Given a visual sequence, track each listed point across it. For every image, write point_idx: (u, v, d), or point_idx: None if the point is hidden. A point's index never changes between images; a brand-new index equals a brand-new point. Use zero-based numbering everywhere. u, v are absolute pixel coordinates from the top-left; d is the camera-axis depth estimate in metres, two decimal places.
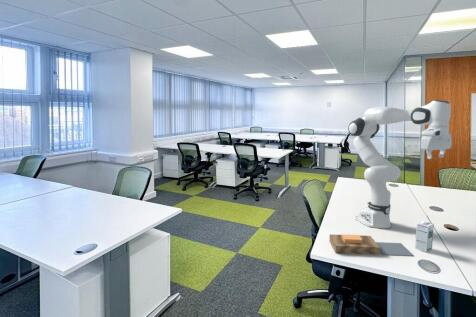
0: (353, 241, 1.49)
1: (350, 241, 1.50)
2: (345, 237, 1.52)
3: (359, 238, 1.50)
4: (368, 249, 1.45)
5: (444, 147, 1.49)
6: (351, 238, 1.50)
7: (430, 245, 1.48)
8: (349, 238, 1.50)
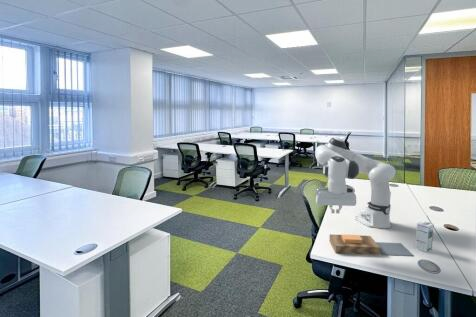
0: (353, 241, 1.49)
1: (350, 241, 1.50)
2: (345, 237, 1.52)
3: (359, 238, 1.50)
4: (368, 249, 1.45)
5: None
6: (351, 238, 1.50)
7: (430, 245, 1.48)
8: (349, 238, 1.50)
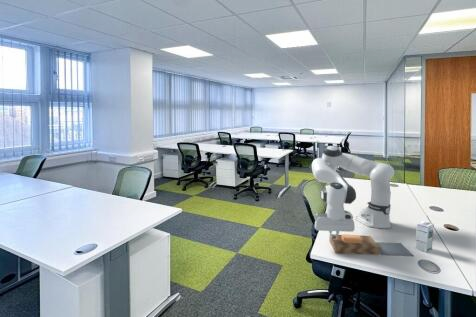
0: (353, 241, 1.49)
1: (350, 241, 1.50)
2: (345, 237, 1.52)
3: (359, 238, 1.50)
4: (368, 249, 1.45)
5: None
6: (351, 238, 1.50)
7: (430, 245, 1.48)
8: (349, 238, 1.50)
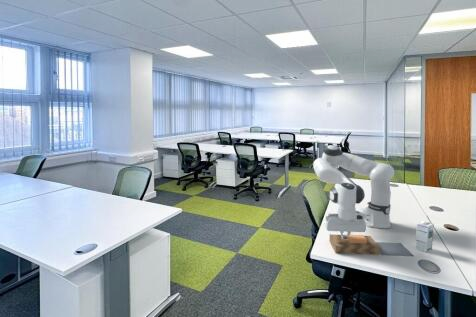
0: (358, 241, 1.49)
1: (355, 241, 1.49)
2: (349, 237, 1.51)
3: (364, 238, 1.50)
4: (368, 249, 1.45)
5: None
6: (356, 238, 1.50)
7: (430, 245, 1.48)
8: (354, 238, 1.50)
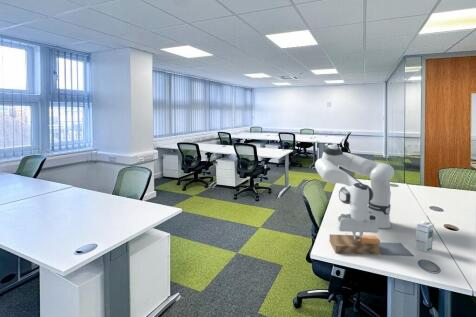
0: (370, 242, 1.49)
1: (367, 242, 1.49)
2: (362, 238, 1.51)
3: (376, 239, 1.49)
4: (368, 249, 1.45)
5: None
6: (368, 239, 1.50)
7: (430, 245, 1.48)
8: (366, 239, 1.50)
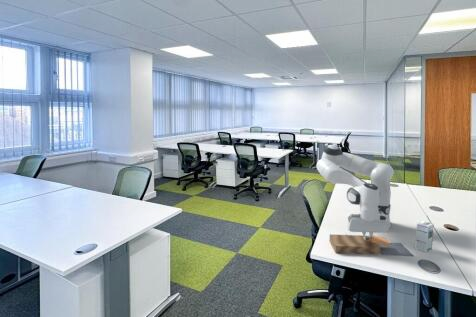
0: (380, 243, 1.48)
1: (378, 242, 1.48)
2: (373, 237, 1.50)
3: (387, 241, 1.49)
4: (368, 249, 1.45)
5: None
6: (379, 240, 1.49)
7: (430, 245, 1.48)
8: (377, 239, 1.49)
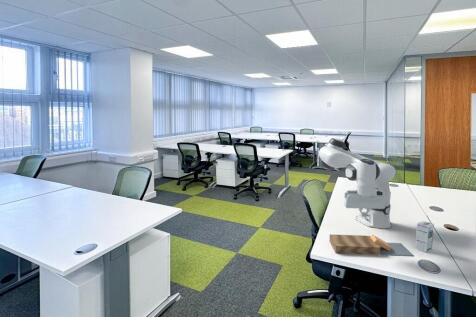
0: (382, 245, 1.48)
1: (380, 243, 1.48)
2: (376, 238, 1.50)
3: (388, 245, 1.49)
4: (368, 249, 1.45)
5: None
6: (381, 241, 1.49)
7: (430, 245, 1.48)
8: (380, 240, 1.49)
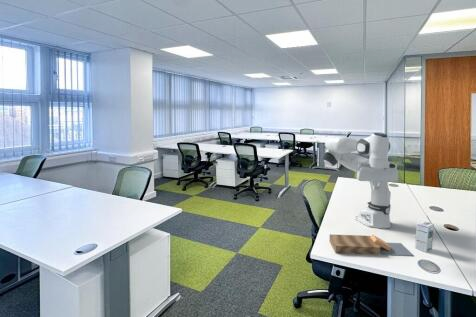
0: (382, 245, 1.48)
1: (380, 243, 1.48)
2: (376, 238, 1.50)
3: (388, 245, 1.49)
4: (368, 249, 1.45)
5: None
6: (381, 241, 1.49)
7: (430, 245, 1.48)
8: (380, 240, 1.49)
